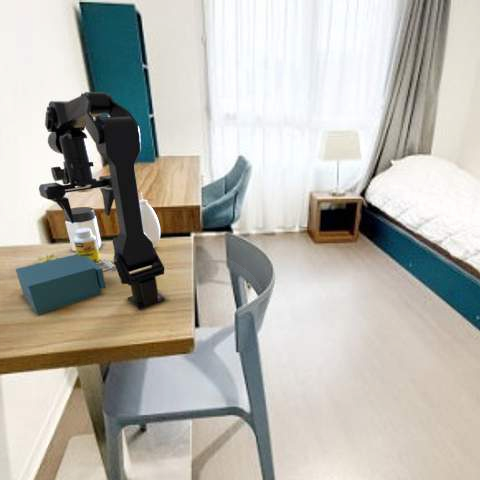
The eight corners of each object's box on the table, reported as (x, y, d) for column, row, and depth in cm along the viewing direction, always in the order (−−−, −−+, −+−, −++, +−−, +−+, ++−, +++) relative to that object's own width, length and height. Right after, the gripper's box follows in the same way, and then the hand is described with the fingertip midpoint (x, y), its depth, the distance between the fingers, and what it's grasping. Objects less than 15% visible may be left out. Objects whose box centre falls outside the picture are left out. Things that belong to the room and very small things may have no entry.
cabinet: (83, 278, 96) (77, 253, 93) (100, 294, 89) (94, 267, 85) (24, 295, 88) (15, 269, 84) (37, 314, 80) (28, 286, 77)
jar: (108, 244, 118) (100, 207, 113) (90, 253, 111) (82, 215, 106) (84, 241, 120) (76, 205, 115) (65, 250, 113) (56, 212, 108)
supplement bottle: (76, 268, 101) (68, 233, 97) (83, 260, 106) (75, 227, 102) (98, 267, 102) (90, 233, 98) (103, 259, 107) (96, 226, 103)
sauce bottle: (132, 247, 116) (122, 191, 108) (155, 242, 121) (147, 187, 113) (143, 255, 111) (133, 196, 103) (166, 248, 115) (159, 191, 107)
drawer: (106, 269, 99) (102, 251, 97) (122, 282, 92) (119, 263, 90) (37, 289, 88) (30, 269, 86) (49, 305, 82) (43, 284, 79)
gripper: (100, 151, 101) (111, 206, 107) (23, 158, 88) (41, 220, 95) (119, 155, 94) (129, 214, 101) (39, 163, 82) (56, 230, 88)
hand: (90, 219), depth 96 cm, fingers open, 9 cm apart
